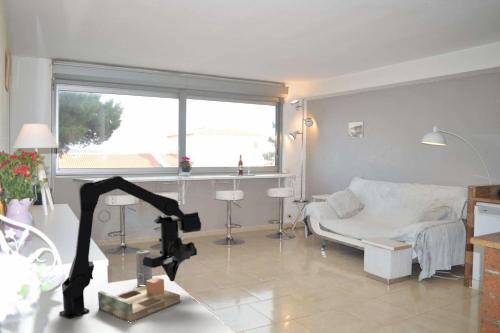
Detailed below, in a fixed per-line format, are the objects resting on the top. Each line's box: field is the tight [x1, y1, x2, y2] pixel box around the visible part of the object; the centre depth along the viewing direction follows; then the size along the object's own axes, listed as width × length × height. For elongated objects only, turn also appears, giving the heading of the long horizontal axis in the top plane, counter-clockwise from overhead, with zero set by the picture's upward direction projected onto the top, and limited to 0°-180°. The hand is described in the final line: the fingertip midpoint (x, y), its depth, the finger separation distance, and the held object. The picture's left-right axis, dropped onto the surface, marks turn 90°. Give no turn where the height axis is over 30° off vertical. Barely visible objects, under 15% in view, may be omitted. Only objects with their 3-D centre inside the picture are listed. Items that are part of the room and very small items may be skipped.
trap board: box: [97, 285, 181, 323], centre depth 123 cm, size 17×18×5 cm
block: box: [146, 276, 165, 295], centre depth 128 cm, size 4×4×4 cm
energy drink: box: [135, 249, 153, 286], centre depth 143 cm, size 5×5×12 cm
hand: (172, 281), depth 133 cm, fingers closed
